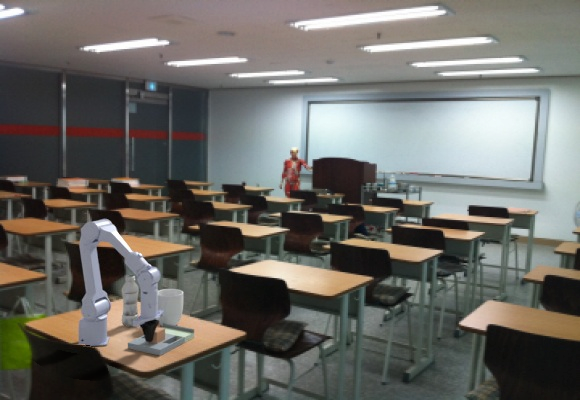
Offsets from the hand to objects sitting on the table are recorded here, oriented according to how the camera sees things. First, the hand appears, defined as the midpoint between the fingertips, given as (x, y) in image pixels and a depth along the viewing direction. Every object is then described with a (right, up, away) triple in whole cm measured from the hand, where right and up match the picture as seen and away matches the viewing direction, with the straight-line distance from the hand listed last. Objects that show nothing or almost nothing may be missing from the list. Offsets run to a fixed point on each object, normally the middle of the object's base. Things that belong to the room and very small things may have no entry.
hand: (149, 341), depth 187 cm
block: (+2, -1, +3) cm, 4 cm away
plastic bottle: (-14, -1, +24) cm, 28 cm away
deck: (+3, -2, +7) cm, 8 cm away
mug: (0, -1, +28) cm, 28 cm away
